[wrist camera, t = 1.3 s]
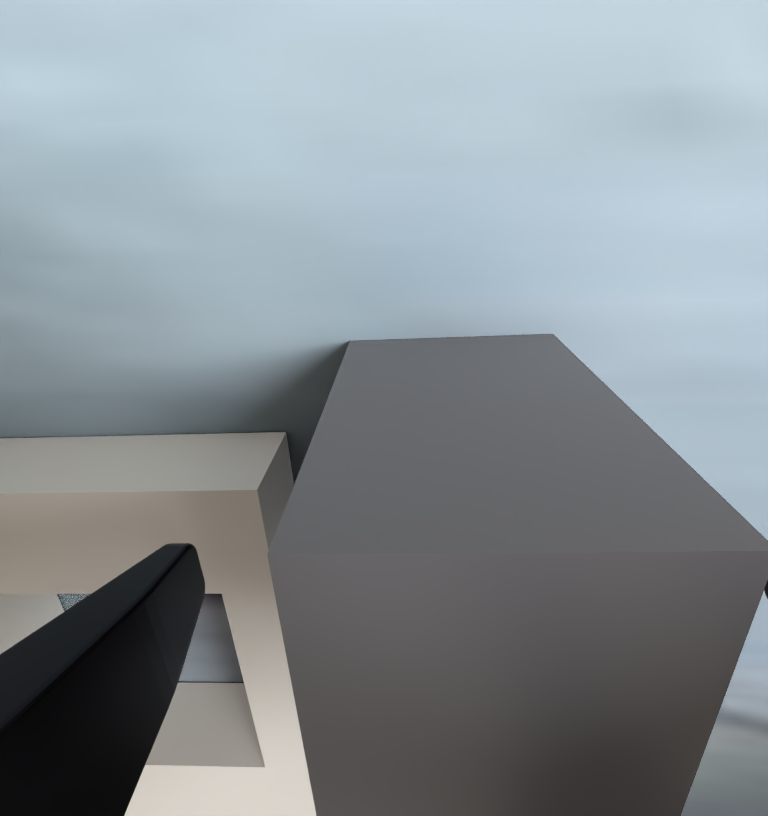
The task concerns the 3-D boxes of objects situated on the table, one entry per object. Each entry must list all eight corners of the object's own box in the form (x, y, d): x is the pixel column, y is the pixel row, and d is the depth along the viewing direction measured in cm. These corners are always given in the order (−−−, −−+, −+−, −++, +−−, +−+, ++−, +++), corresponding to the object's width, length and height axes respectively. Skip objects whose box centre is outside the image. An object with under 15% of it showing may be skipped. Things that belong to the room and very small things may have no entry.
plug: (535, 502, 12) (673, 833, 6) (362, 504, 13) (318, 824, 6) (552, 333, 10) (777, 551, 4) (349, 340, 11) (266, 555, 4)
